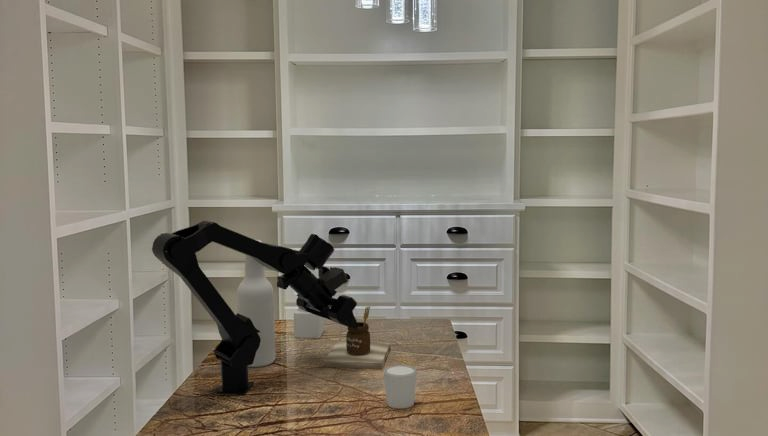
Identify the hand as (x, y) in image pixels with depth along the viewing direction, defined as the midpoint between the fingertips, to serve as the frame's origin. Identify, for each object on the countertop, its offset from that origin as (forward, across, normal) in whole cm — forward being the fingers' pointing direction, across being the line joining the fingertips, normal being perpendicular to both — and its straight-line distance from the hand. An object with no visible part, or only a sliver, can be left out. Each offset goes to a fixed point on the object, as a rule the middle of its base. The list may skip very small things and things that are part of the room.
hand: (346, 323), depth 164 cm
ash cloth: (+9, 0, +4) cm, 10 cm away
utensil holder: (+8, -1, +3) cm, 9 cm away
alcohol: (-5, +13, +19) cm, 24 cm away
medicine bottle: (+10, +25, +3) cm, 27 cm away
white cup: (+2, -29, +12) cm, 31 cm away
